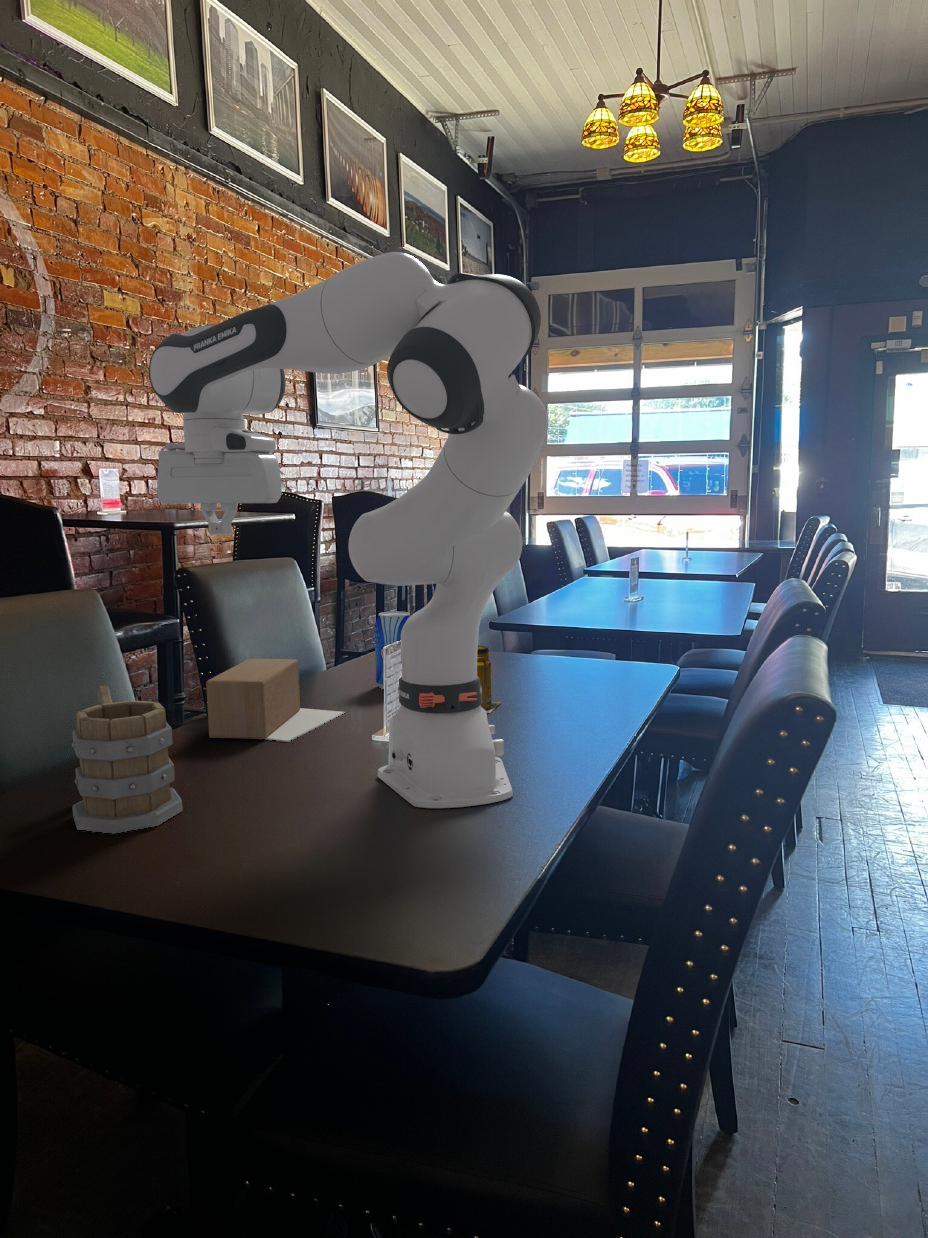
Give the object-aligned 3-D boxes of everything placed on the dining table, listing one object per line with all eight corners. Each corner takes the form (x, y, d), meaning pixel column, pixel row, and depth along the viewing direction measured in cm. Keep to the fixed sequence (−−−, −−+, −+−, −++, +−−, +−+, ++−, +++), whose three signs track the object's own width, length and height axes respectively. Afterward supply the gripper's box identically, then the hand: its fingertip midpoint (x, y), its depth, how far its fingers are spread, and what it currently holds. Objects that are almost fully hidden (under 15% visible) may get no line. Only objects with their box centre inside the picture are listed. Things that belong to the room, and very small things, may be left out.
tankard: (189, 821, 108) (182, 706, 106) (80, 842, 102) (70, 720, 100) (159, 777, 125) (153, 677, 123) (65, 792, 119) (56, 687, 117)
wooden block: (265, 739, 143) (300, 710, 163) (262, 681, 142) (298, 658, 161) (208, 738, 144) (250, 709, 164) (204, 680, 143) (247, 658, 162)
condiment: (453, 711, 162) (452, 649, 160) (466, 701, 170) (465, 642, 168) (489, 714, 160) (489, 651, 158) (501, 703, 168) (501, 643, 166)
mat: (288, 742, 142) (288, 740, 142) (213, 734, 148) (213, 733, 148) (345, 713, 161) (344, 711, 161) (276, 707, 166) (276, 706, 166)
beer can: (410, 692, 178) (409, 616, 176) (371, 691, 179) (369, 616, 177) (419, 683, 186) (417, 611, 184) (381, 682, 188) (379, 610, 185)
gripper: (144, 442, 128) (150, 534, 130) (261, 437, 121) (265, 535, 123) (172, 444, 134) (177, 532, 136) (285, 440, 127) (289, 533, 129)
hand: (220, 534), depth 129 cm, fingers closed
